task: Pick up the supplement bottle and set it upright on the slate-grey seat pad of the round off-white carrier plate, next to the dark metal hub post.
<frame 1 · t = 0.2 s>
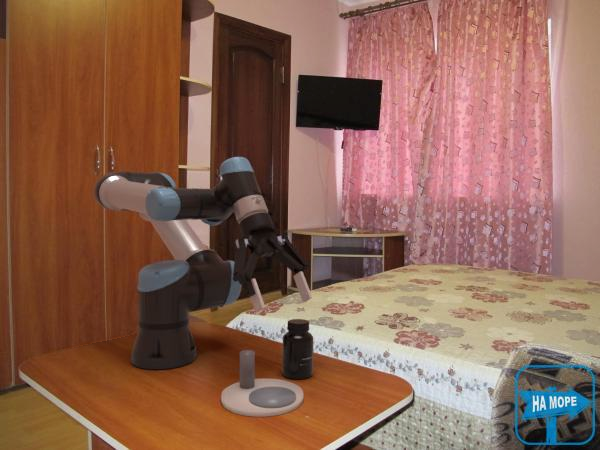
hand: (285, 305, 107), 16 cm above the table, tool tilted 30°, fingers open, 13 cm apart
supplement bottle: (297, 375, 110), on the table
carrier: (262, 398, 97), on the table
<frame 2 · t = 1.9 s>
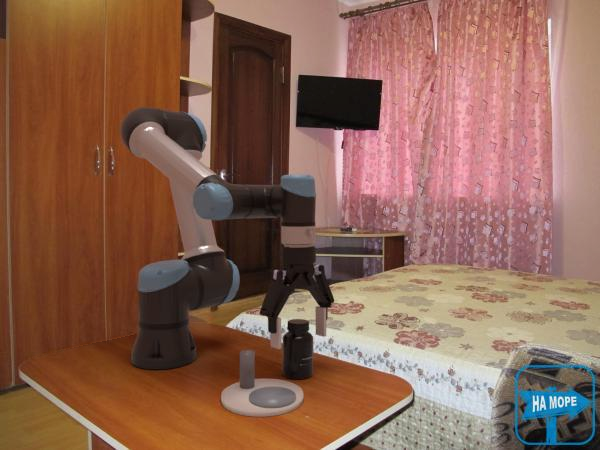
hand: (299, 341, 109), 8 cm above the table, tool pointing down, fingers open, 13 cm apart
nothing on the table moved.
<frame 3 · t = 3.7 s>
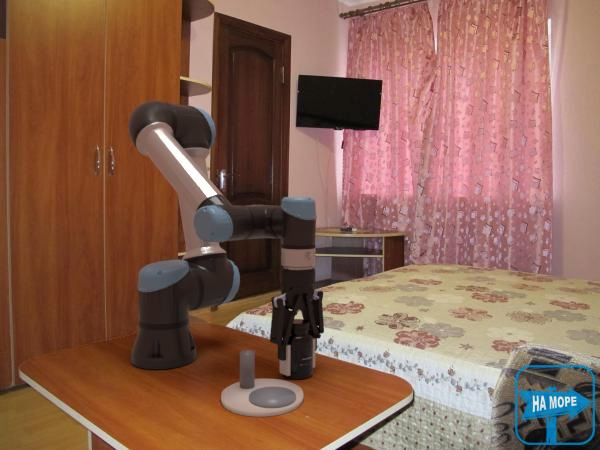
hand: (297, 369, 110), 1 cm above the table, tool pointing down, fingers closed on supplement bottle, 7 cm apart
supplement bottle: (297, 375, 110), on the table, touching gripper
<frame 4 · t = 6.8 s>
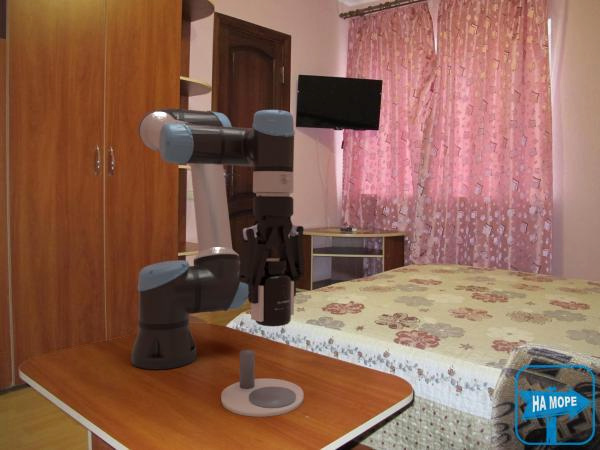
hand: (272, 316, 94), 17 cm above the table, tool pointing down, fingers closed on supplement bottle, 7 cm apart
supplement bottle: (273, 323, 94), point 15 cm above the table, touching gripper
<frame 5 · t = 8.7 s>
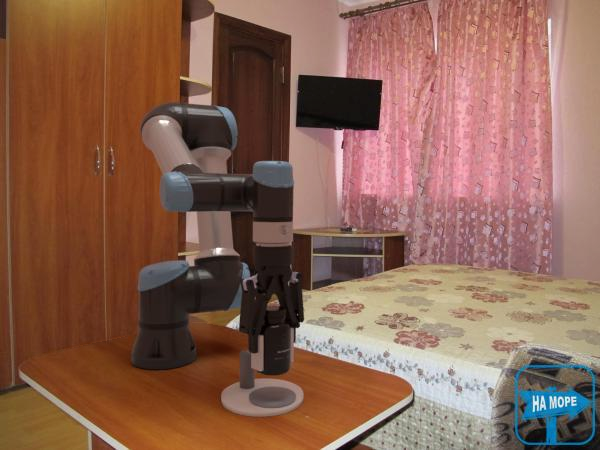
hand: (272, 364, 94), 8 cm above the table, tool pointing down, fingers closed on supplement bottle, 7 cm apart
supplement bottle: (273, 371, 94), point 6 cm above the table, touching gripper
when the fingers open (4 cm above the table, at t = 10.4 s): supplement bottle drops 1 cm, resting on carrier.
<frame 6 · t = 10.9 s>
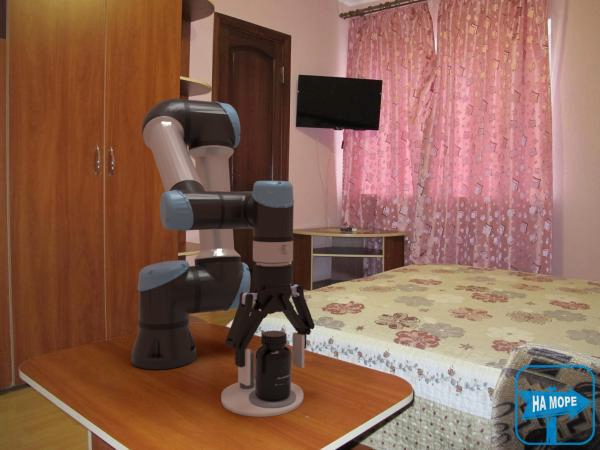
hand: (272, 374, 94), 6 cm above the table, tool pointing down, fingers open, 13 cm apart
supplement bottle: (273, 396, 95), point 1 cm above the table, touching carrier
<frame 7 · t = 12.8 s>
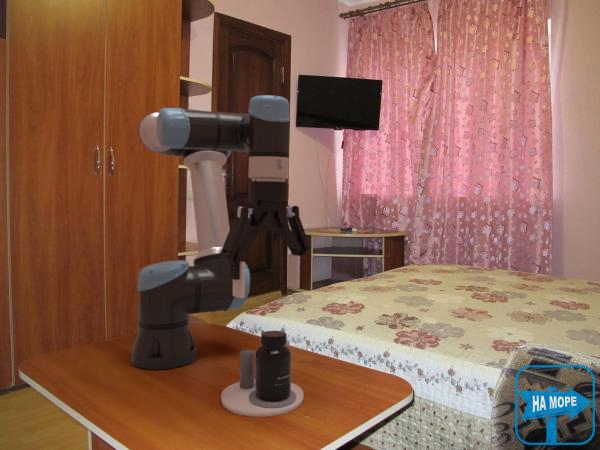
hand: (267, 292, 95), 21 cm above the table, tool pointing down, fingers open, 13 cm apart
nothing on the table moved.
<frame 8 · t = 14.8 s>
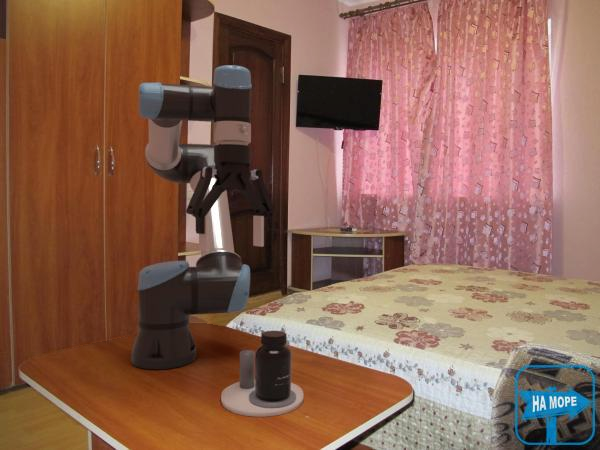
hand: (232, 248, 102), 29 cm above the table, tool pointing down, fingers open, 13 cm apart
nothing on the table moved.
at the end: supplement bottle 0.2 cm from the target spot on the carrier, point 1.3 cm above the carrier's base; supplement bottle tilted 0°; the gripper is holding nothing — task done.
